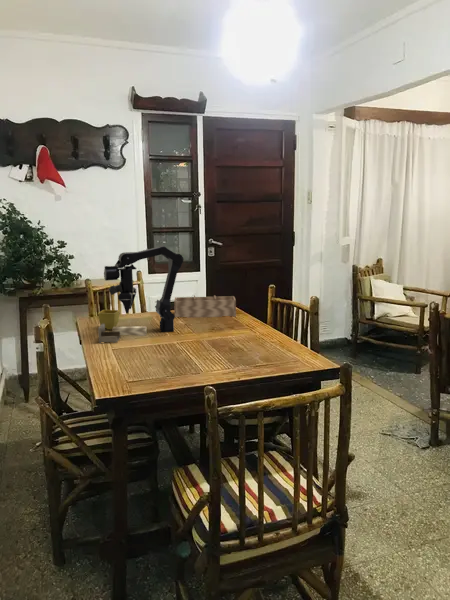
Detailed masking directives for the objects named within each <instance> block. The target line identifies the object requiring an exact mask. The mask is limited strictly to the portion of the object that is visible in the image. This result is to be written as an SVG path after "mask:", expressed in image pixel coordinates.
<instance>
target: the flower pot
mask: <svg viewBox="0 0 450 600" xmlns="http://www.w3.org/2000/svg"><path fill="white" fill-rule="evenodd" d="M97 315H98V322H99V324H100V325H99V326H101V324H105V328H107V329H106V330H111V329H112V328H113V327H118V323H119V320H120V310H119V309H102V310H101V311H99V312H98V313H97Z"/></svg>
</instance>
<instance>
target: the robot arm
mask: <svg viewBox="0 0 450 600" xmlns="http://www.w3.org/2000/svg"><path fill="white" fill-rule="evenodd" d="M160 255H161V256H163V257H164V258H166V259H167V260H168V261H167V263H168V264H167V265H168V266H167V268H168V271H167V276H166V279H165V283H164V287H163V290H162V295H161V297H160V299H156V304H155V306H154V308H155V312H156V314H157V315H159V317H160V321H159V330H160V332H162V333H163V332H164V333H165V332H167V333H169V332H175V331H174V330H175V326H174V325H175V324H174V322H175V321H174V320H175V313H173V312H172V311H171V308H172V303H171V299H172V295H173V292H174V287H175V284H176V283H175V282H176V279H177V275H178V272H179V270H180V269H181V268H182V265H183V263H184V257H183V255H182V254H179V253H175V252H173V250H170V249H169V248H167V247H166V246H164V245H159V246H156V247H152V248H148V249H145V250H140V251H129V252H122V253H120V254H119V255H118V260H117V262H116V263H115V264H114V265H104V268H103V269H104V270H103V278H104V281H106V282H107V281H118V279H119V278H120V282H119V284H116V285H112V286H110V287H109V288H108V290H109V291H108V292H109V293H110V295H111V296H113V295H114V294H117V293H119V294H118V295H117V299H118V301H119V302H121V303H122V304H123V308H124V311H125V314H128V313H129V312H130V310H131V309H132V308H133V304H134V300H135V297H136V295H137V288H136V287H134V278H133V270H137V267H136V266H134V264H135V263H136V262H138V261H140V260H144V259H148V258H153V257H156V256H160Z"/></svg>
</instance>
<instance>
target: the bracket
mask: <svg viewBox="0 0 450 600" xmlns="http://www.w3.org/2000/svg"><path fill="white" fill-rule="evenodd" d="M97 333H98V334H97V336H98V344H102V343H101V342H113V343H112V344H116V343H115V342H117V341H118V342H119V341H120V339H121V336H120V331H106V329H105V324H101V325H99V326H98V328H97ZM119 338H120V339H119ZM118 342H117V343H118Z"/></svg>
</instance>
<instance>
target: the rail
mask: <svg viewBox="0 0 450 600" xmlns="http://www.w3.org/2000/svg"><path fill="white" fill-rule="evenodd" d="M147 328H148V327H147V326H146V325H143V326H141V325H140V326H137V325H136V326H135V325H134V326H116V327H113V328H112V331H111V332H113V331H120V335H137V336H147V332H148V331H147Z"/></svg>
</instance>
